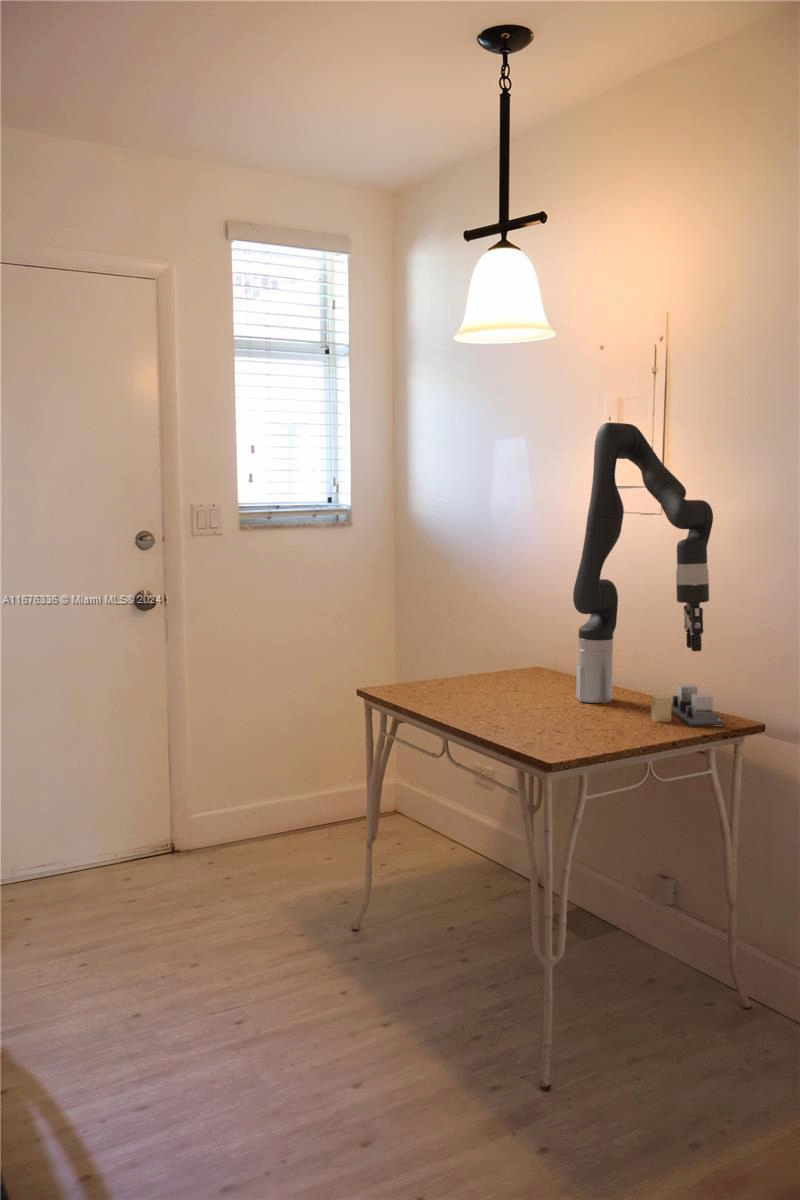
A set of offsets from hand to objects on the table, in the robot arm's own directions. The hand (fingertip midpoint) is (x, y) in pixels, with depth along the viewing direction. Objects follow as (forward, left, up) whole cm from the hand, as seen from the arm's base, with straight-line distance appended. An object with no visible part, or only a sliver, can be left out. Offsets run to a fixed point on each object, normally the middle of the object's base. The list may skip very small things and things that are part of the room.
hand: (694, 649), depth 240 cm
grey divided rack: (+3, +8, -19) cm, 20 cm away
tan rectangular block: (-6, +5, -19) cm, 20 cm away
